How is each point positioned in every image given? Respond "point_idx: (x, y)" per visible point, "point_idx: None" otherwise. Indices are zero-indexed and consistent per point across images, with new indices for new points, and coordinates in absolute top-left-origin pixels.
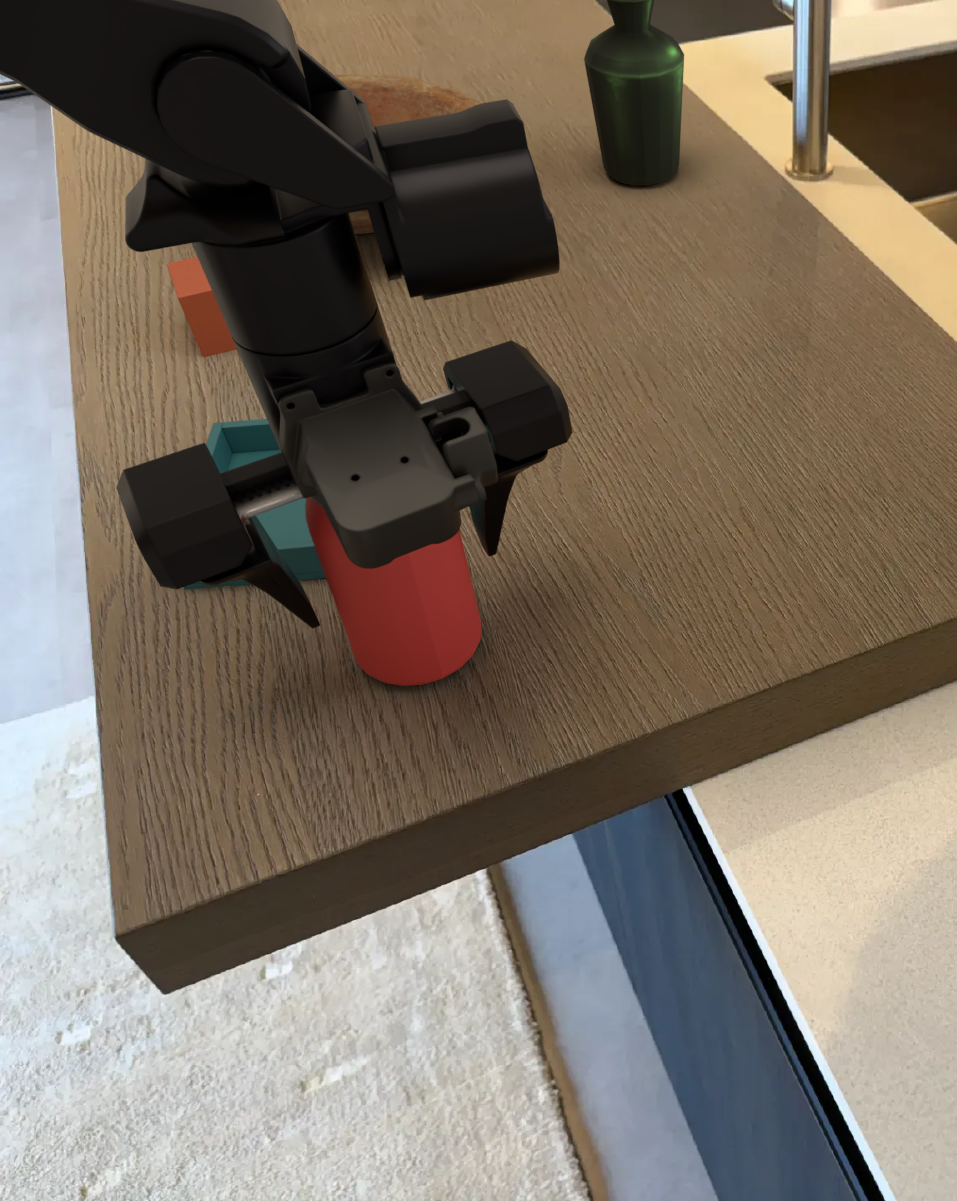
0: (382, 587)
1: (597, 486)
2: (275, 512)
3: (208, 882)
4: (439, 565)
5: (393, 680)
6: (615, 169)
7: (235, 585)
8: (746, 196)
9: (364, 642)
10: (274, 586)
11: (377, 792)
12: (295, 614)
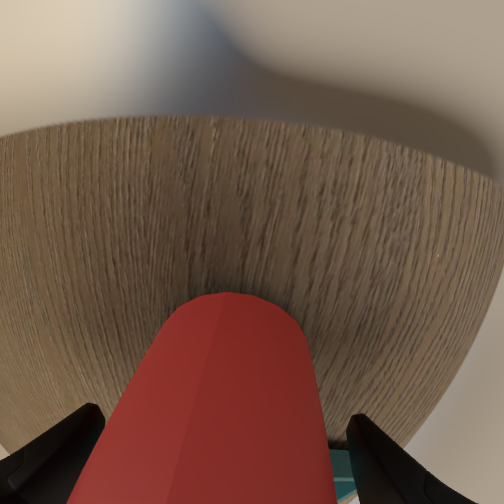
0: (263, 469)
1: (61, 400)
2: None
3: (487, 188)
4: (120, 451)
5: (286, 315)
6: None
7: (344, 451)
8: None
9: (309, 373)
10: (434, 493)
11: (355, 186)
12: (391, 439)
